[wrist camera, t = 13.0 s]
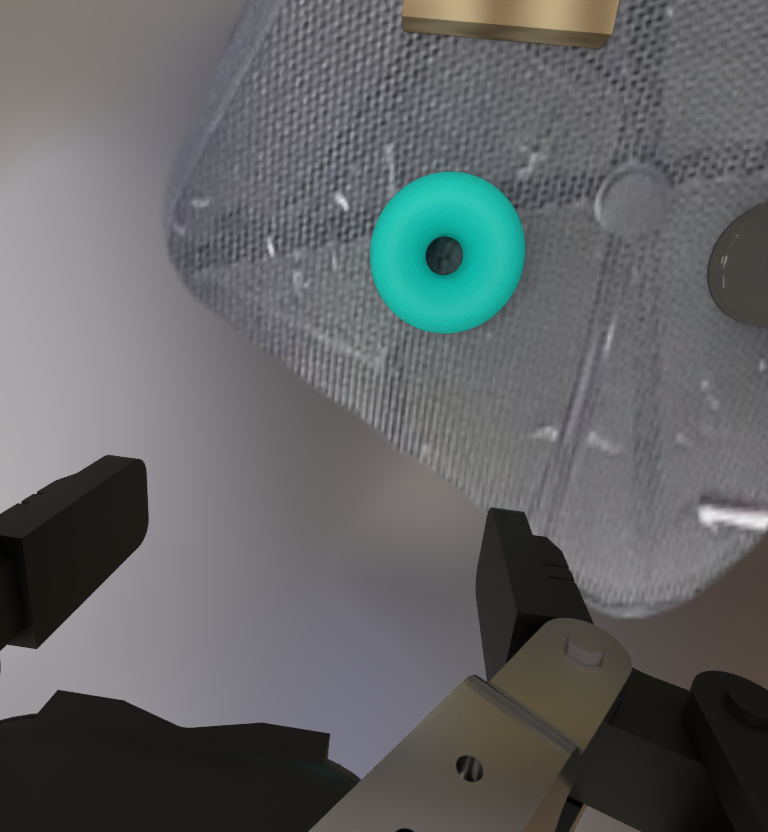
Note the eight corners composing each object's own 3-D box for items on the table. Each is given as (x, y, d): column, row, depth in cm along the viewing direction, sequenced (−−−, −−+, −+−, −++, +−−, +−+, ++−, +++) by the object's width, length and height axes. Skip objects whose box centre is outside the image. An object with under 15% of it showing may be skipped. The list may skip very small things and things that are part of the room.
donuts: (344, 205, 31) (502, 140, 30) (364, 217, 41) (485, 168, 39) (398, 357, 34) (548, 305, 32) (405, 334, 43) (521, 293, 42)
